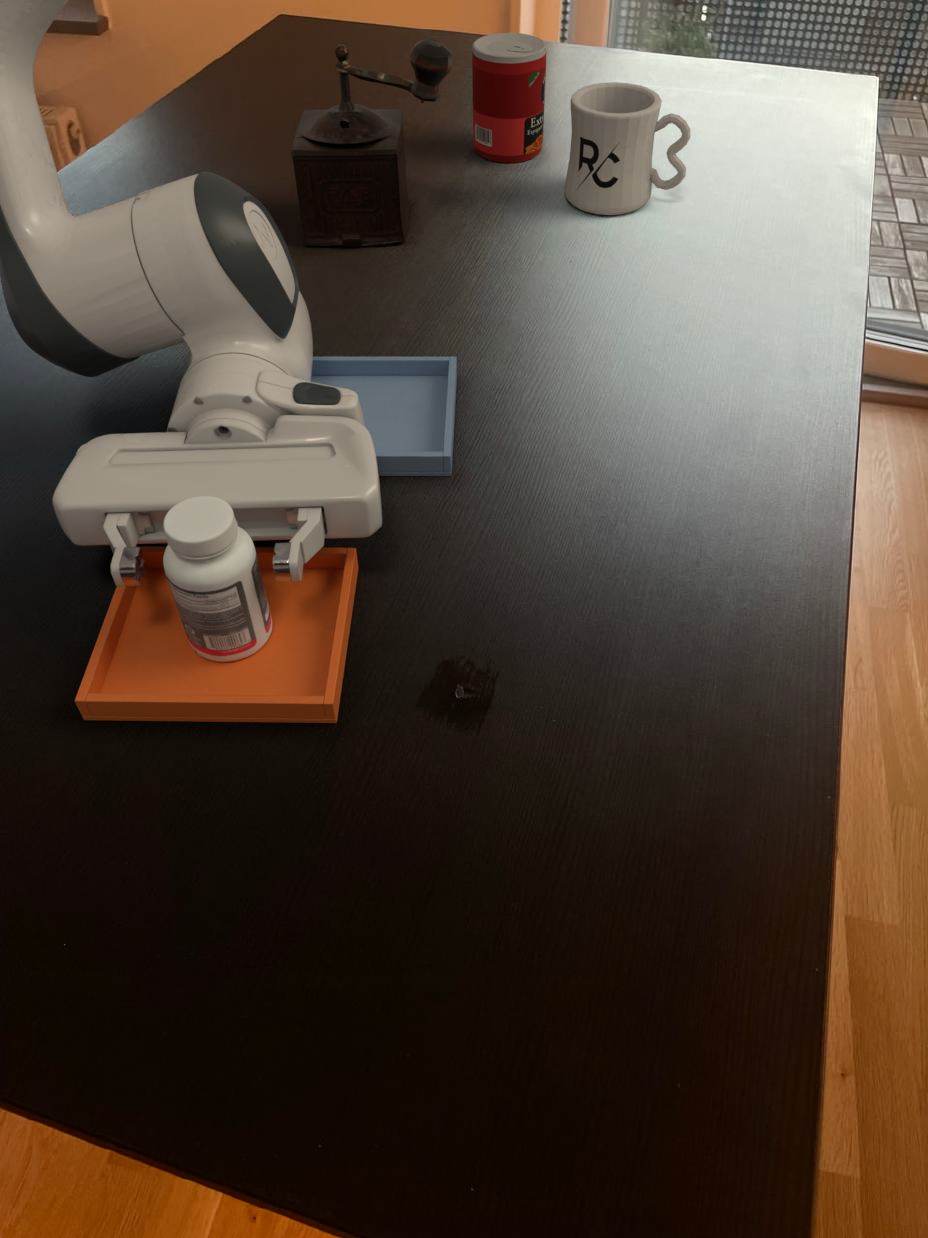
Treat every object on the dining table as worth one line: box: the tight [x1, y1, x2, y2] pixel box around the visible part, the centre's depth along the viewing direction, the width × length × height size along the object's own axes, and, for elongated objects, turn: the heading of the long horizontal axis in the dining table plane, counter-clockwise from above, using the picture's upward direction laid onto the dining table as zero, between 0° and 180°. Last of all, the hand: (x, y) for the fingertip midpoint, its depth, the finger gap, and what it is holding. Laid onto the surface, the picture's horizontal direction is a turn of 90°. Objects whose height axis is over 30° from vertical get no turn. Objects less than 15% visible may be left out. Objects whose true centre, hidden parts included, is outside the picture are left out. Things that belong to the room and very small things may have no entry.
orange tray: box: [74, 545, 359, 724], centre depth 63 cm, size 15×13×2 cm
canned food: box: [471, 32, 547, 164], centre depth 110 cm, size 8×8×11 cm
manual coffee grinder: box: [290, 38, 454, 248], centre depth 96 cm, size 16×11×18 cm
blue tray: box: [310, 355, 458, 477], centre depth 78 cm, size 15×13×2 cm
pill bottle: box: [163, 496, 272, 662], centre depth 60 cm, size 5×5×10 cm
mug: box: [564, 81, 691, 216], centre depth 101 cm, size 12×9×10 cm
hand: (206, 576), depth 58 cm, fingers open, 8 cm apart
